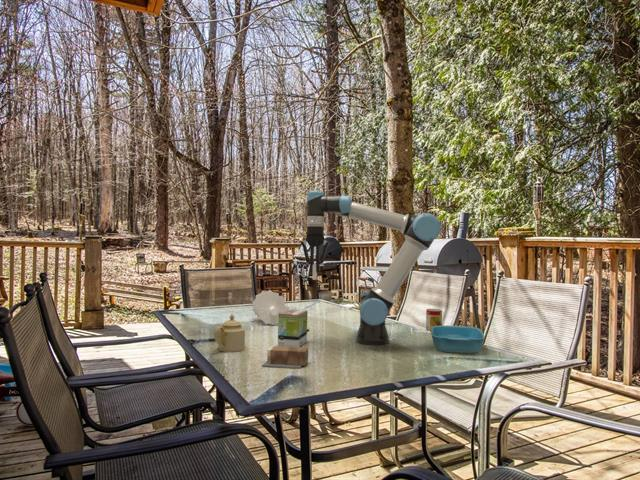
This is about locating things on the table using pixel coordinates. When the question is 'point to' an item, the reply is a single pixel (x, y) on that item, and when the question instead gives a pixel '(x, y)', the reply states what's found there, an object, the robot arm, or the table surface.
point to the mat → (281, 365)
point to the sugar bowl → (230, 336)
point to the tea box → (292, 328)
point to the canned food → (433, 318)
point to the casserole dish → (457, 338)
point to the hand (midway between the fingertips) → (314, 279)
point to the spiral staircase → (269, 307)
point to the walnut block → (287, 355)
